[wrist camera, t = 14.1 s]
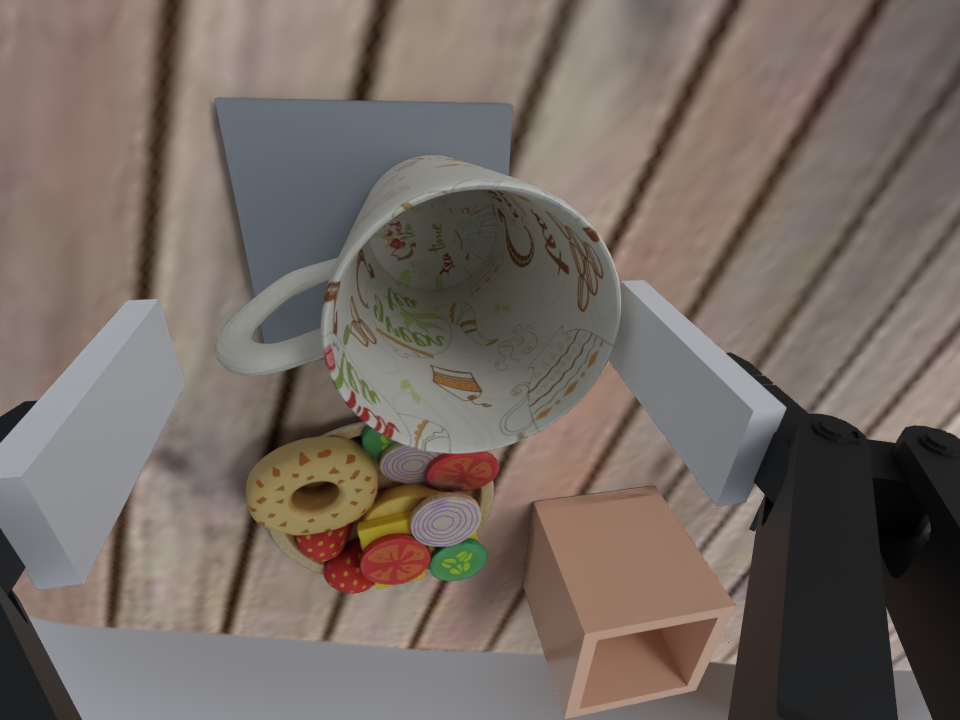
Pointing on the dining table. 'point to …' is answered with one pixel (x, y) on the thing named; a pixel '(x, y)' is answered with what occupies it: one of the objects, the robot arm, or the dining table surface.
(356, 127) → the coaster
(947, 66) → the dining table surface
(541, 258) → the mug
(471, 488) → the toy food set
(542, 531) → the planter
